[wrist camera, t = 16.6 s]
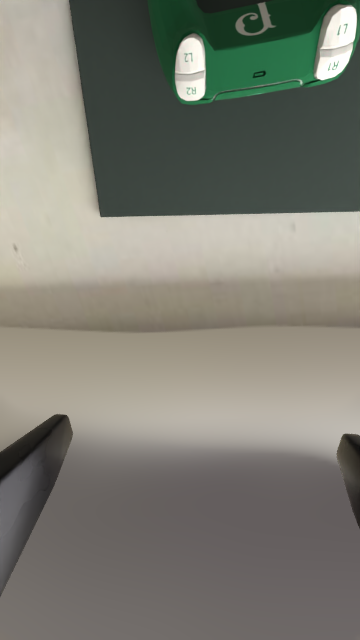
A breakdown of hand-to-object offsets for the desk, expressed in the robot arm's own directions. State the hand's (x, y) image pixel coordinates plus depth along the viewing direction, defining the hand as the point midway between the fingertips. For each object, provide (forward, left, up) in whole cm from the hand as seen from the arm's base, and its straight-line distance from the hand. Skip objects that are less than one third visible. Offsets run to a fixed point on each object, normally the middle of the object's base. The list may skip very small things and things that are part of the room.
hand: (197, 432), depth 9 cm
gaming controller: (-2, -14, -12) cm, 18 cm away
